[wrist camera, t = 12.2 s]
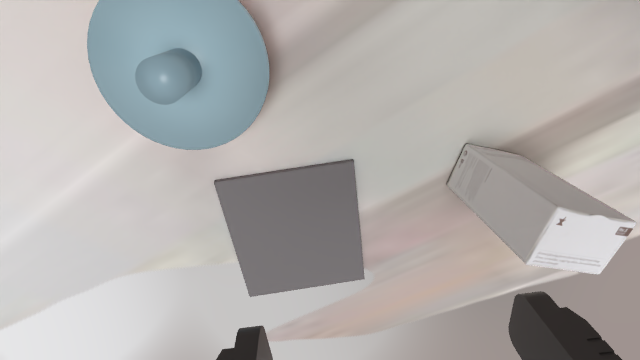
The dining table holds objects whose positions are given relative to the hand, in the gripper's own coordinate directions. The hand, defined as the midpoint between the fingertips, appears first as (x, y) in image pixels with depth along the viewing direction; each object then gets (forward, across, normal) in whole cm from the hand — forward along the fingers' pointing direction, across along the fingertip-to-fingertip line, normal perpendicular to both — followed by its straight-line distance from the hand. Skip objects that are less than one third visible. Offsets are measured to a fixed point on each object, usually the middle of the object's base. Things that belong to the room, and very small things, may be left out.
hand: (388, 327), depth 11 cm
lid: (+22, +12, -6) cm, 26 cm away
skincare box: (+28, -18, +11) cm, 35 cm away
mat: (+28, +6, +16) cm, 32 cm away
